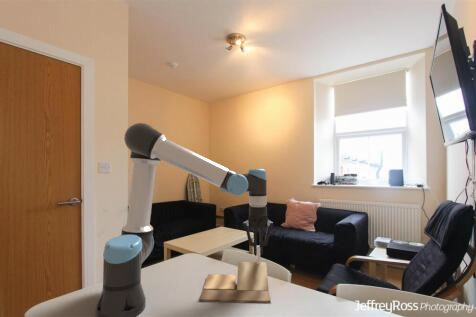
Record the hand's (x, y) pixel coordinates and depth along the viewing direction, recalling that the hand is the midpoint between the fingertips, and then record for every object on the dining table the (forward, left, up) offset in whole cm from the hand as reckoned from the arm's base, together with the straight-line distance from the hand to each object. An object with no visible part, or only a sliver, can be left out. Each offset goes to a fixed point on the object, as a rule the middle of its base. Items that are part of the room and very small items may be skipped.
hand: (258, 262), depth 102 cm
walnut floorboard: (-9, -13, -9) cm, 18 cm away
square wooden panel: (-3, -3, -5) cm, 6 cm away
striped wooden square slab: (-16, -2, -8) cm, 18 cm away
